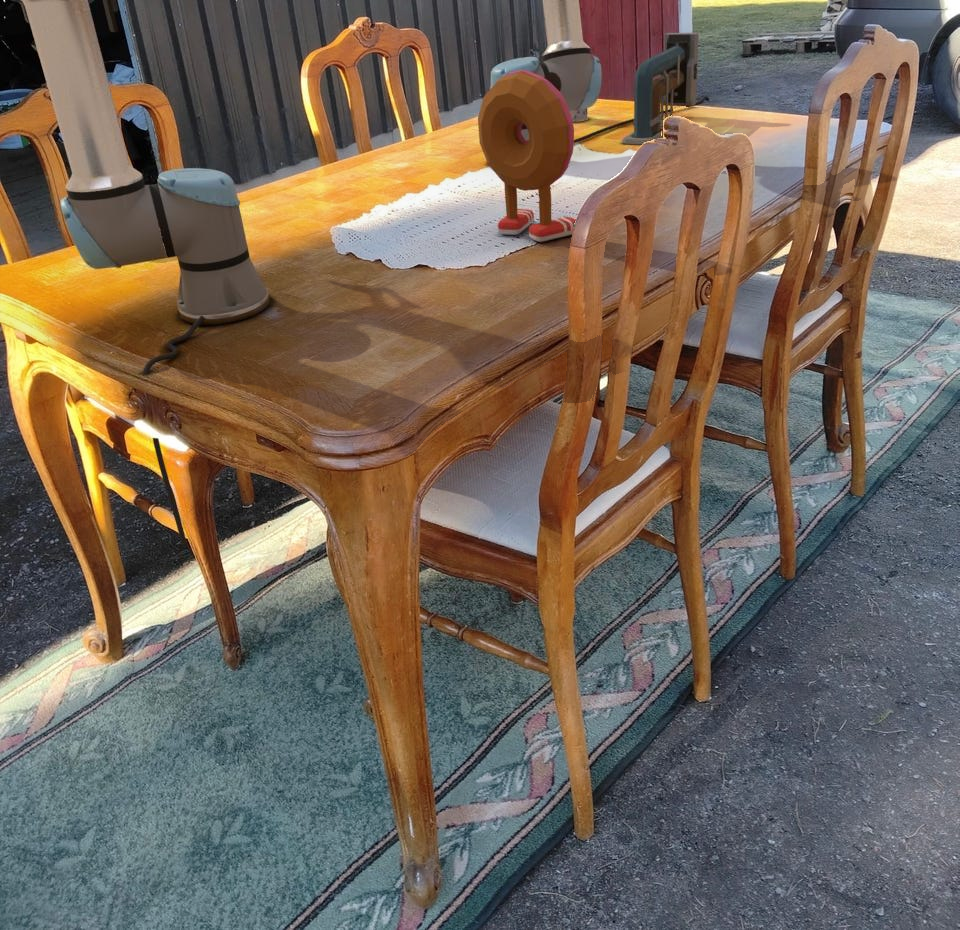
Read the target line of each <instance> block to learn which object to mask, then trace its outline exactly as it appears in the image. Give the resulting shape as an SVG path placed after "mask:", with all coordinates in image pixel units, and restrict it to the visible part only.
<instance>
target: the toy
mask: <svg viewBox="0 0 960 930" xmlns="http://www.w3.org/2000/svg"><path fill="white" fill-rule="evenodd" d="M560 90H561V80H560V77H559V76H558V75H557V74H556V73H554V72H550V73H547V74H546V75H545V77H541V76H539V75H537V74H534V73H532V72H529V71H525V70H519V71H516V72H513V73H509V74H507V75H504V76H503V77H502V78H500V79H499V80H498V81H497V82H496V83H495V84H494V86H493V87H492V88H491V89H490V88H489V90H488V91H487V93H485V95H484V96H483V97H482V102H481V105H480V109H479V113H478V117H477V127H478V128H477V129H478V140H479V145H480V148H481V151H482V153H483V156H484V158H485V160H486V163H487V165H488V166H489V168H490V169H491V170H492V171H493V172H494V173H495V174H496V175H497V177H498V178H499V179H500V180H501V182H502V183H504V199H505V200H504V201H505V213H506V214H505V216H504V217H503V218H501V219H500V220H499V221H498V223H497V232H498V234H500V235H510V236H513V235H514V236H515V235H519V234H520V233H522V232H523V231H524V230H525V229H527V228H528V227H529V228H528V235H529V238H530V239H532V240H533V241H535V242H539V243H544V242H548V241H552V240H556V239H561V238H564V237H568V236H572V230H573V226H574V223H575V221H576V220H577V219H576V218H574V217H571V216H564V217H560V218H555V219H552V190H551V186H552V185H553V184H554V183H556V182H558V180H559V179H561V178H562V177H563V176H564V175H565V173H566V171H567V170H568V169H569V165H570V162H571V159H572V157H573V152H574V146H575V143H574V140H575V127H574V122H573V121H572V117H571V114H570V111H569V108H568V105H567V102H566V101H565V99H564V97H563V96H562V94H561V93H560ZM523 124H525V125H526V126H527V129H528V132H529V141H527V140H525V139H524V137H523V135H522V133H521V130H522V125H523ZM518 190H520V191H525V192H526V191H536V190H537V191H538V192H537V193H538V212H539V213H538V214H539V222H538V223H534V222H535V214H534V212H533V209H532V210H531V209H527V208H518Z"/></svg>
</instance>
